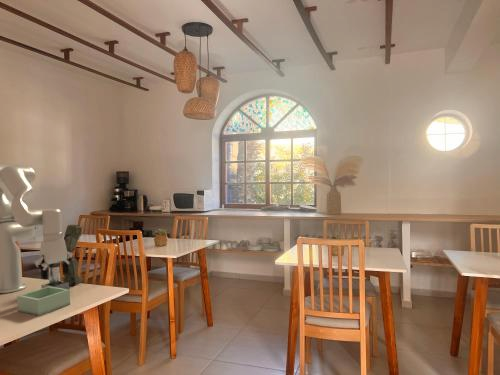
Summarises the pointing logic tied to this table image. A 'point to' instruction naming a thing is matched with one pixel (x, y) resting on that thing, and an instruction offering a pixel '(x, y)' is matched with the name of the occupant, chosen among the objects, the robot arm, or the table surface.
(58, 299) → the bin
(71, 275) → the mechanical leg
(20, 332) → the table surface
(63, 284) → the socket block
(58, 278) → the strut
